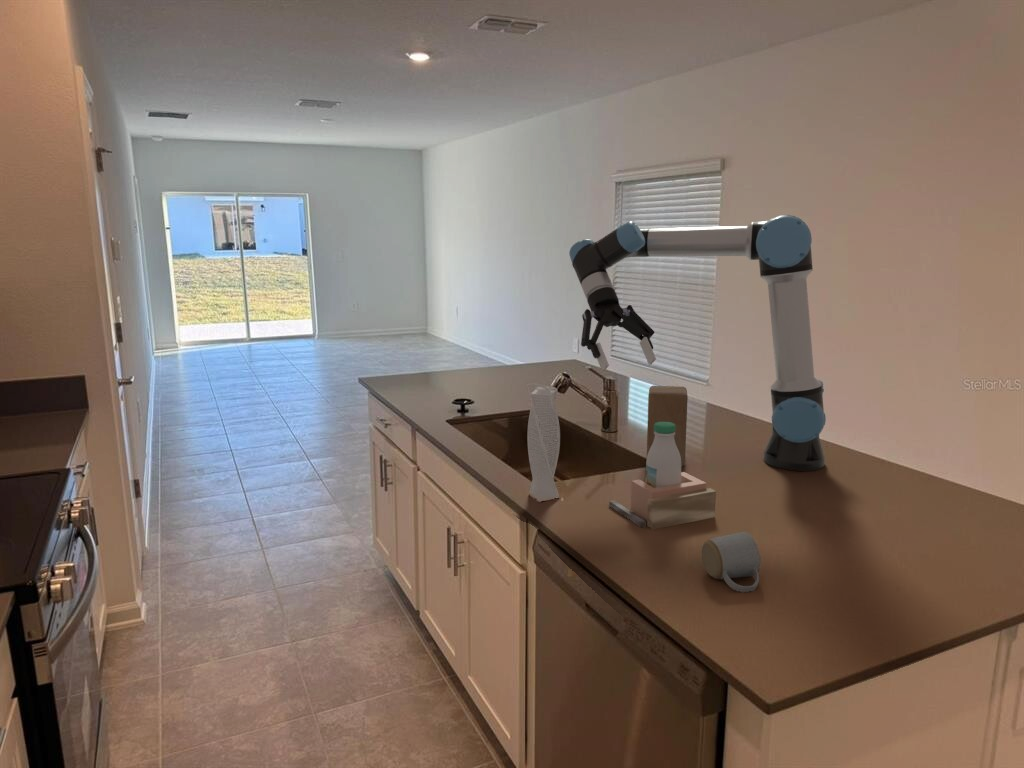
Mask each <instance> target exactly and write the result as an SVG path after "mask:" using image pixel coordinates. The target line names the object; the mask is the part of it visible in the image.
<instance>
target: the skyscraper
mask: <svg viewBox="0 0 1024 768" xmlns="http://www.w3.org/2000/svg"><path fill="white" fill-rule="evenodd" d="M530 386H535V387H534V390H533V391H532V392H531V389H530ZM526 388H527V391H528V394H529V399H530V403H531V405H530V410H529V416H528V423H527V435H526V436H527V437H526V438H527V452H528V462H529V467H530V471H531V472H530V473H531V475H532V480H531V484H530V488H529V492H528V494H529V493H531V494H533V495H534V496H535V497H536V498H538V500H540V499H547V498H555V497H559V498H560V495H559V492H558V488H557V485H556V482H555V479H554V478H555V477H554V476H555V472H556V468H557V464H558V461H559V460H558V459H559V454H560V448H561V447H560V446H561V429H560V428H561V427H560V422H559V415H558V411H557V407H556V403H555V401H556V398H557V394H558V388H557V387H555V386H550V385H543V384H540V383H536V382H529V383H527V384H526Z"/></svg>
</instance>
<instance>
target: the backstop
mask: <svg viewBox="0 0 1024 768" xmlns="http://www.w3.org/2000/svg"><path fill="white" fill-rule="evenodd" d="M716 496H717V490H715V489H713V488H708V487H707V488H706V489H703V490H697V491H692V492H686V493H681V494H675V495H669V496H664V497H658V498H653V499H648V516H647V521H646V520H644V519H643V518H641V517H640V516H638V515H637V514H635V513H634V512H632V511H631V509H628V508H626V507H625V506H624V505H622V504H621V503H619V502H617V501H615V500H614V499H612V500H609V502H608V503H609V505H608V506H609V507H610V506H611V507H610V508H612V507H613V508H614V509H615V510H614V509H613V508H612V509H613V510H614V511H616V510H617V511H618V512H617V511H616V512H617V513H619V514H620V513H621V514H620V515H621V516H623V515H624V516H623V517H624V518H626V517H627V518H626V519H627V520H629V519H630V520H629V521H631V520H632V521H633V522H632V521H631V522H632V523H634V524H635V523H636V524H635V525H637V526H638V525H639V526H640V527H639V526H638V527H639V528H645V527H648V528H649V527H650V528H649V529H651V530H652V529H653V530H658V529H662V527H663V528H668V527H672V526H678V525H682V524H683V525H684V524H688V523H692V522H697V521H702V520H707V519H713V518H715V517H716V498H717V497H716ZM646 523H647V524H646ZM644 526H645V527H644ZM657 528H658V529H657Z"/></svg>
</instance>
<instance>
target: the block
mask: <svg viewBox="0 0 1024 768" xmlns="http://www.w3.org/2000/svg"><path fill="white" fill-rule="evenodd" d="M647 396H648V397H647V398H648V402H647V435H646V441H647V442H646V456H647V455H648V452H649V450H650V448H651V446H652V444H653V441H654V438H655V434H654V424H655V423H657V422H671V423H674V424H675V435H674V440H675V444H676V446H677V449H678V451H679V453H680V457H681V467H684V465H686V447H687V445H686V444H687V443H686V442H687V423H688V422H687V420H688V400H689V399H688V398H689V397H688V390H687V388H686V387H685V386H680V385H679V386H678V385H677V386H676V385H675V386H674V385H673V386H672V385H670V386H669V385H651V386H649V389H648V395H647Z"/></svg>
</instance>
